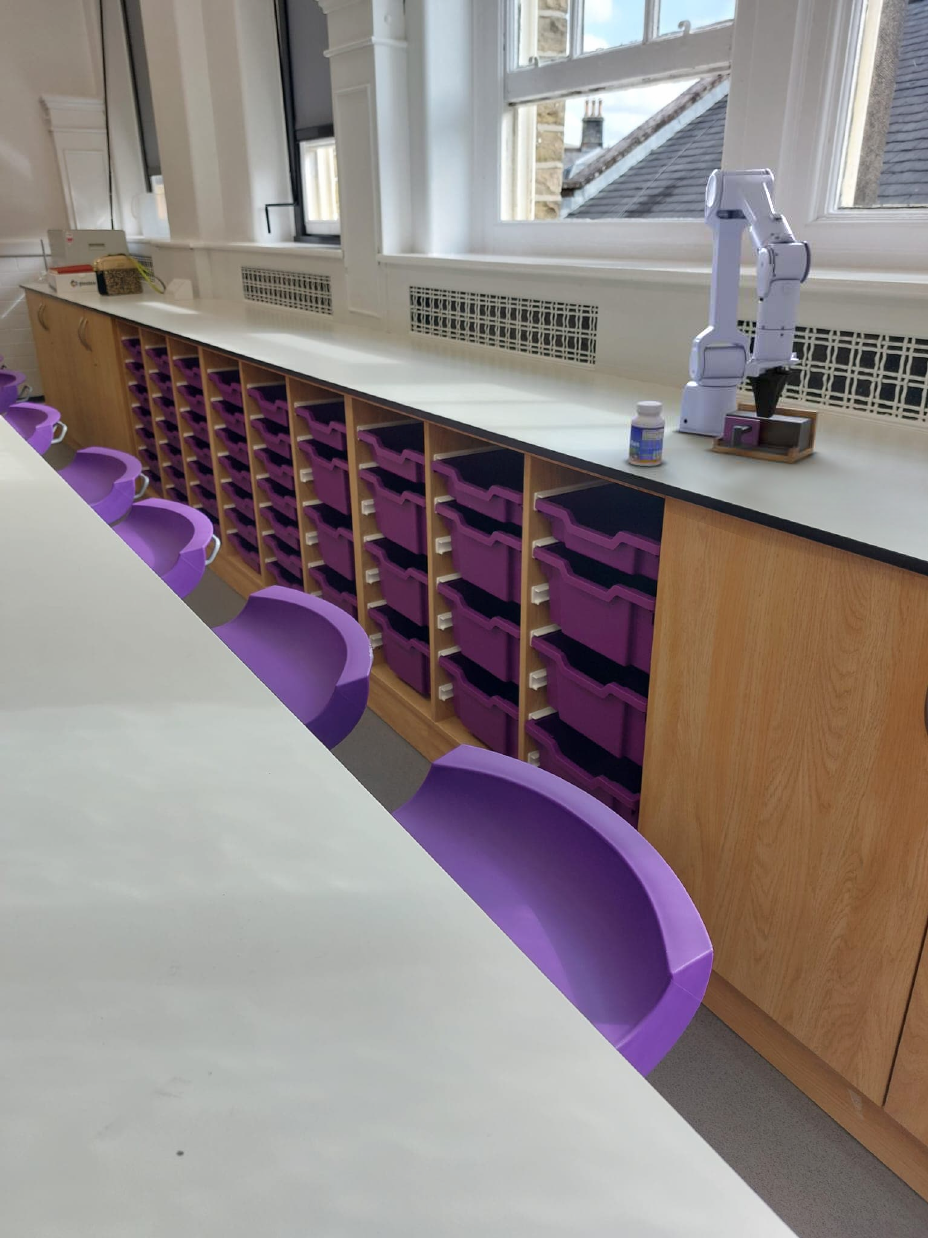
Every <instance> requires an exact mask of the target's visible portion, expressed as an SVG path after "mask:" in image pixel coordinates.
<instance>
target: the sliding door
mask: <svg viewBox="0 0 928 1238" xmlns="http://www.w3.org/2000/svg"><path fill="white" fill-rule="evenodd" d="M759 429H760V420H755V419H747V418H739V417H731V416H726V417H725V423H724V433H723V441H724V442H731V443H732V446H733V447H740V445H741V444H745V445H752V446H757V445H758V437H759Z"/></svg>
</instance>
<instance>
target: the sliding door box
mask: <svg viewBox="0 0 928 1238" xmlns="http://www.w3.org/2000/svg"><path fill="white" fill-rule="evenodd" d="M819 413H820V412H819V411H818V410H813V409H802V408H793V407H784V406H778V405H777V406H776V409H775V411H774V414H773V416H772V417H771V418H762V417H757V414H756V407H755V403H750V402H743V401H741V402H738V403H737V408H736V409H735V411H733V412H730V413H727V414H726V416H731V417H739V418H747V419H755V420H760V429H759V437H758V445H757V446H752V445H745V444H741V445H740V447H733V446H732V443H731V442H724V441H723V436H719V437H717V436H715V437H714V438H713V443H712V444H713V445H712V452H715V453H716V452H717V453H723V454H730V455H736V456H743V457H751V458H757V459H762V460H770V461H776V462H783V463H789V464H792V463H795V462H796V461H799V460H801V459H803V458H805V457H807V456H809V455H811V454H813V453H814V446H815V441H816V434H817V427H818V420H819Z"/></svg>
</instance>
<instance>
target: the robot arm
mask: <svg viewBox="0 0 928 1238" xmlns="http://www.w3.org/2000/svg"><path fill="white" fill-rule="evenodd" d="M774 190H775V178H774V175H773V173H772V171H771V170H770V169H769V168H763V169H732V170H731V169H729V170H728V169H727V170H724V169H723V170H721V169H714V170H713V171H712V173H711V174H710V175H709V178H708V180H707V184H706V188H705V200H704V218H705V219H704V224H705V225H706V226H708V227H710V228H712V261H711V281H710V298H709V299H710V300H709V315H708V316H709V318H708V319H709V320H708V327H707V328H706V329H705V330H703V331H702V332H701V333H700V334H698V335H697V336H696V337H695V338H694V339H693V341H692V344H691V352H690V356H689V360H688V361H689V362H688V370H689V371H688V372H689V376H690V378H691V379H692V381H689V382H688V383H687V384H686V385H685V387H684V388H683V392H682V395H681V402H680V415H679V427H678V428H677V429H676V431H677V432H681V433H690V434H697V435H704V436H710V437H711V436H712V437H719V436H723V433H724V423H725V417H726V414H727V413H730V412H733V411H735V410H736V404H737V397H738V396H737V395H738V387H739V386H740V385H742V382H743V381H744V380H745V379H746V378H747V379H748V381H749V384H750V386H751V389H752V393H753V399H754V404H755V407H756V414H757V417H762V418H771V417H772V416H773V414H774V411H775V409H776V406H777V407H778V403H779V401H780V398H781V395H782V394H783V391H784V389H785V387H786V385H787V383H788V382H789V381H790V379H791V378H792V377H793V371H792V370H791V369H790V370H789V369H783V368H785V367H788V366H793V367H794V366H795V365H798V364H799V361H800V360H799V358H797V352H793V348H794V340H795V339H794V338H795V331H796V325H797V318H798V309H799V302H800V296H801V295H800V294H801V287H802V284H804V283H805V282H806V280H807V279H808V277H809V275H810V271H811V268H812V267H811V266H812V250H811V247H810V243H809V242H808V241H801V240H798V239H797V240H796V238H795V236H794V234H793V232H792V229H791V228H790V226H789V224H788V222H787V220H786V218H785V216H784V215H782V213H781V212H776V211H775V210H774V208H773V203H772V198H773V195H774ZM748 227H749V231H748V239H749V242H750V244H751V246H752V248H753V251H754V253H755V256H756V258H757V262H756V271H755V272H756V280H757V285H756V296H758V297H759V298H758V299H759V300H758V307H757V316H756V325H755V326H756V327H755V334H754V342H753V352H752V356H751V352H750V339H749V337H748V336H747V335H746V334H745V333H744V332H742V331H741V330H740V329H739V328H738V327H737V325H738V310H739V309H738V308H739V293H740V292H739V290H740V274H741V258H742V243H743V233H744V231H745V229H746V228H748ZM713 344H714V345H715V344H717V345H719V344H731V345H725V346H724V345H723V346H721V345H719V346H709V345H713Z"/></svg>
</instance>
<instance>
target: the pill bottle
mask: <svg viewBox="0 0 928 1238" xmlns="http://www.w3.org/2000/svg"><path fill="white" fill-rule="evenodd" d="M662 411H663V404H662V402H659V401H652V400H651V401H650V400H645V401H644V400H643V401H639V402H637V403H636V413H637V414H635V415H634V416H633V417H632V418H631V419H630V420H631V421H630V433H629V434H630V435H629V445H628V446H629V448H628V449H629V450H628V462H629V463H630V464H631V465H634V466H638V467H655V466H658V465H660V464H661V463H662V460H663V459H662V458H663V447H664V436H665V426H666V420H665V418H664V417H663V416H661V413H662Z"/></svg>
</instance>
